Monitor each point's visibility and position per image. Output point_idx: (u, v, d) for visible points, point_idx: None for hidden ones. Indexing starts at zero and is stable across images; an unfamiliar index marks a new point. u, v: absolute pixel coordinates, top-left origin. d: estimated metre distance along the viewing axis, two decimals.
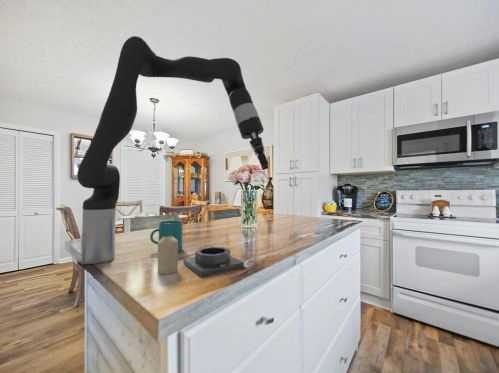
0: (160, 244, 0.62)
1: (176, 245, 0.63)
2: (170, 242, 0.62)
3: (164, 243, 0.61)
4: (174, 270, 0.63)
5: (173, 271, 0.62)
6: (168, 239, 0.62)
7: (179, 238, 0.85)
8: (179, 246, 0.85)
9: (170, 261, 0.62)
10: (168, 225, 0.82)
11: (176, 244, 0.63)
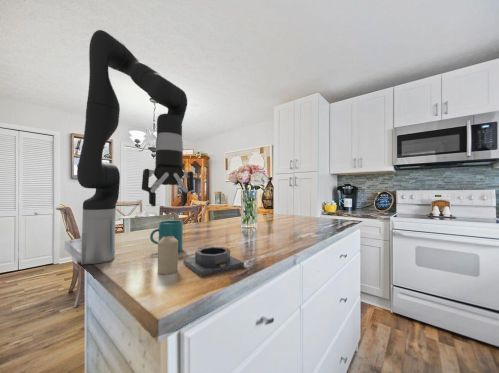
0: (160, 244, 0.62)
1: (176, 245, 0.63)
2: (171, 242, 0.62)
3: (165, 243, 0.61)
4: (174, 270, 0.63)
5: (173, 271, 0.62)
6: (168, 239, 0.62)
7: (179, 238, 0.85)
8: (179, 246, 0.85)
9: (170, 261, 0.62)
10: (168, 225, 0.82)
11: (176, 244, 0.63)
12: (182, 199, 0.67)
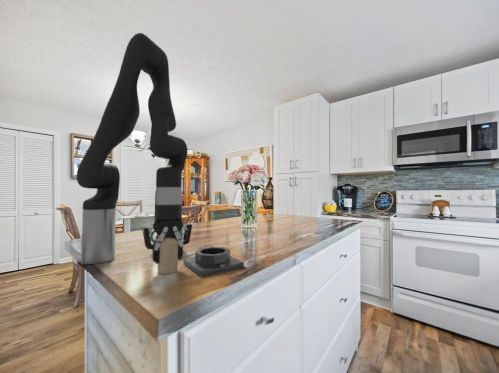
0: (160, 244, 0.62)
1: (176, 245, 0.63)
2: (171, 242, 0.62)
3: (165, 243, 0.61)
4: (174, 270, 0.63)
5: (173, 271, 0.62)
6: (168, 239, 0.62)
7: None
8: None
9: (170, 261, 0.62)
10: None
11: (176, 244, 0.63)
12: None
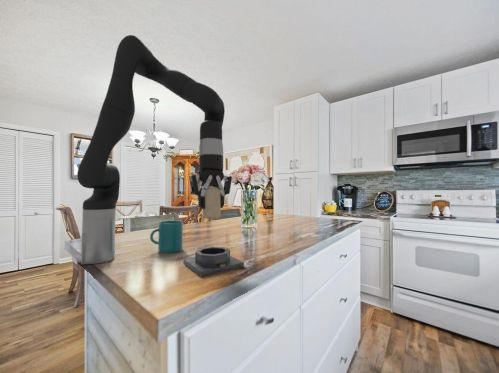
0: None
1: (219, 193, 0.68)
2: (215, 189, 0.67)
3: (210, 189, 0.66)
4: (218, 216, 0.68)
5: (217, 216, 0.67)
6: (212, 187, 0.67)
7: (179, 238, 0.85)
8: (179, 246, 0.85)
9: (215, 206, 0.67)
10: (168, 225, 0.82)
11: (219, 192, 0.68)
12: None
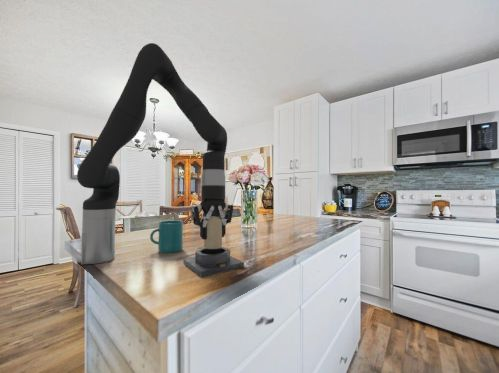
0: (207, 222, 0.67)
1: (221, 223, 0.69)
2: (217, 220, 0.67)
3: (212, 220, 0.67)
4: (220, 246, 0.68)
5: (219, 247, 0.68)
6: (214, 217, 0.68)
7: (179, 238, 0.85)
8: (179, 246, 0.85)
9: (216, 237, 0.67)
10: (168, 225, 0.82)
11: (221, 222, 0.69)
12: None
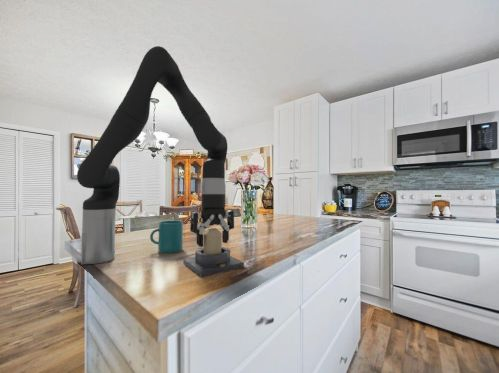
0: (207, 235, 0.67)
1: (220, 236, 0.69)
2: (216, 233, 0.67)
3: (211, 234, 0.67)
4: None
5: None
6: (214, 231, 0.68)
7: (179, 238, 0.85)
8: (179, 246, 0.85)
9: (216, 250, 0.67)
10: (168, 225, 0.82)
11: (220, 235, 0.69)
12: (223, 236, 0.72)
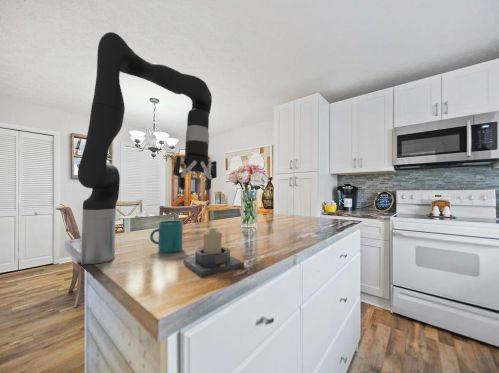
0: (207, 235, 0.67)
1: (220, 236, 0.69)
2: (216, 233, 0.67)
3: (211, 234, 0.67)
4: None
5: None
6: (214, 231, 0.68)
7: (179, 238, 0.85)
8: (179, 246, 0.85)
9: (216, 250, 0.67)
10: (168, 225, 0.82)
11: (220, 235, 0.69)
12: (206, 185, 0.75)
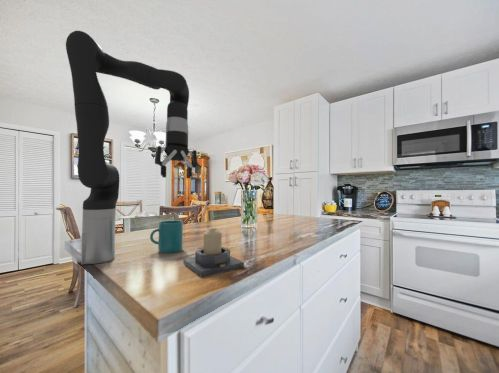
0: (207, 235, 0.67)
1: (220, 236, 0.69)
2: (216, 233, 0.67)
3: (211, 234, 0.67)
4: None
5: None
6: (214, 231, 0.68)
7: (179, 238, 0.85)
8: (179, 246, 0.85)
9: (216, 250, 0.67)
10: (168, 225, 0.82)
11: (220, 235, 0.69)
12: (187, 173, 0.80)
